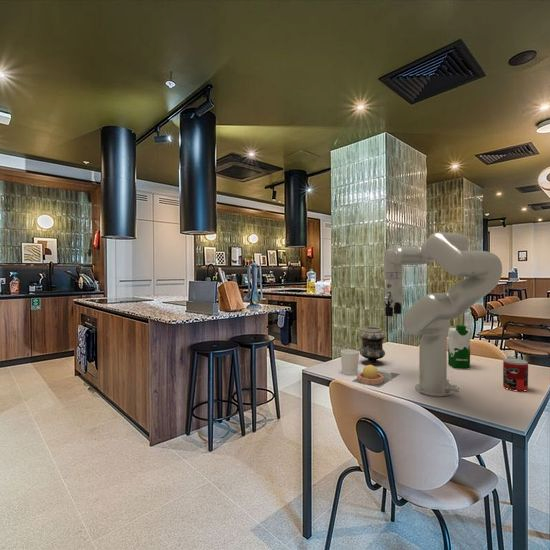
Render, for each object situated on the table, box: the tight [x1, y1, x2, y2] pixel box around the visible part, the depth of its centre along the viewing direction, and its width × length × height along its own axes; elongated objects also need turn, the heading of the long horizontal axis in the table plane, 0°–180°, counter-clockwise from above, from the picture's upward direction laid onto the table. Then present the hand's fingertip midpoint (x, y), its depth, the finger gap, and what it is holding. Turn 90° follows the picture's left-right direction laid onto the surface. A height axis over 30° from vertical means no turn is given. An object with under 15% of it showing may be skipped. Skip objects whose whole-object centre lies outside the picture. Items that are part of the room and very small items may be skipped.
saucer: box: [356, 371, 384, 386], centre depth 144 cm, size 10×10×2 cm
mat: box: [352, 369, 400, 388], centre depth 149 cm, size 12×22×1 cm, turn 140°
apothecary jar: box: [359, 325, 386, 367], centre depth 171 cm, size 12×12×18 cm
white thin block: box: [377, 369, 392, 381], centre depth 149 cm, size 12×1×3 cm, turn 50°
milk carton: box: [447, 324, 472, 369], centre depth 165 cm, size 9×9×20 cm
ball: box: [362, 365, 378, 379], centre depth 144 cm, size 6×6×6 cm
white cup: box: [340, 348, 360, 376], centre depth 156 cm, size 8×8×10 cm
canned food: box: [502, 357, 529, 391], centre depth 135 cm, size 8×8×11 cm
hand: (393, 314), depth 155 cm, fingers open, 9 cm apart
